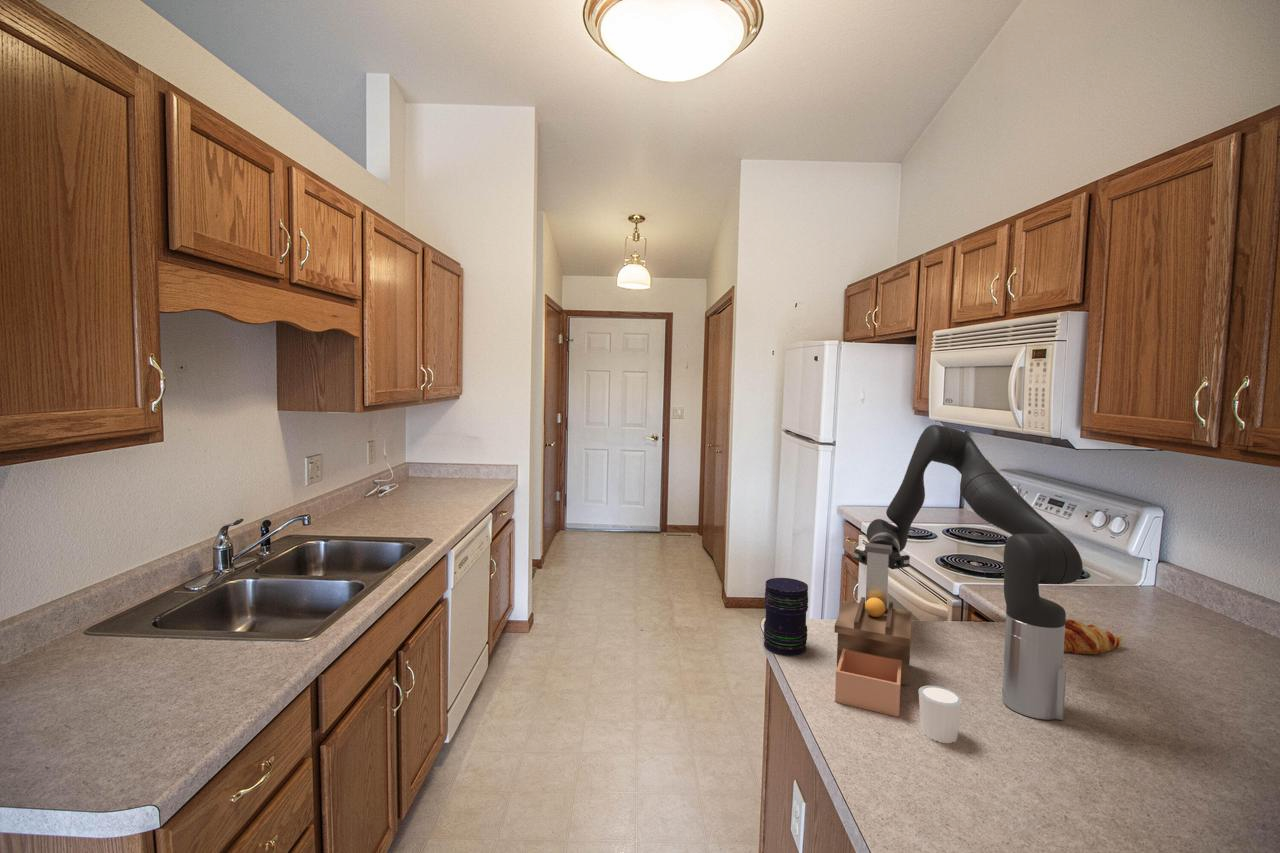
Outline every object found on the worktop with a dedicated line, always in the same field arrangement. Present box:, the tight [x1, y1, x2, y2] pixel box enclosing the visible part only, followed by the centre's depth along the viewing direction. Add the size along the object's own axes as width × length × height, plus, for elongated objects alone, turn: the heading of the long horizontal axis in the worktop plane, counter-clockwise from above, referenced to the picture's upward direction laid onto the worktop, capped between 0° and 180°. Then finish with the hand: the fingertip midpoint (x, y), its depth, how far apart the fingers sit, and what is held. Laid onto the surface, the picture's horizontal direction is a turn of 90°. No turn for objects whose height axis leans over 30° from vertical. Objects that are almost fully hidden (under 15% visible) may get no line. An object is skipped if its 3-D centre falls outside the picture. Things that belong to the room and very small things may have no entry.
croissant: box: [1064, 618, 1124, 655], centre depth 135 cm, size 21×10×8 cm, turn 93°
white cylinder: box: [918, 685, 964, 744], centre depth 99 cm, size 7×7×7 cm
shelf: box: [833, 596, 912, 686], centre depth 120 cm, size 14×16×14 cm
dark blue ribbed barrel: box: [763, 577, 809, 657], centre depth 132 cm, size 10×10×15 cm
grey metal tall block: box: [864, 542, 892, 612], centre depth 124 cm, size 5×4×14 cm
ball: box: [865, 598, 885, 617], centre depth 121 cm, size 4×4×4 cm
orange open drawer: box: [834, 649, 902, 718], centre depth 111 cm, size 11×11×6 cm
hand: (879, 567), depth 129 cm, fingers closed
